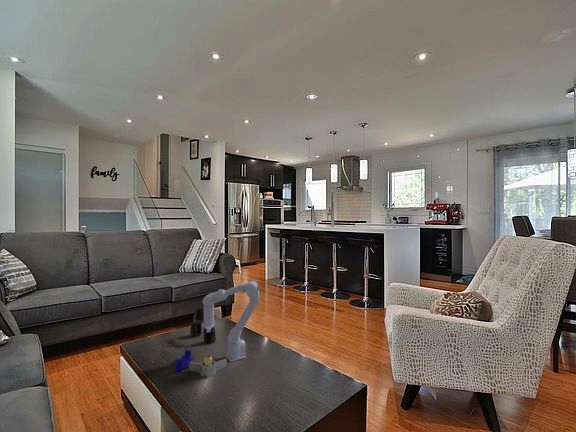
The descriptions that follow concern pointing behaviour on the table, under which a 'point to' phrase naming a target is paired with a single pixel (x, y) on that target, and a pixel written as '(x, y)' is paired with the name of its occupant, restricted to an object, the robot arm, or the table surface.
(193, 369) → the steel hinge
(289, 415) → the table surface
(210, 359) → the brass pin
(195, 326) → the headphones
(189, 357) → the cable clip
